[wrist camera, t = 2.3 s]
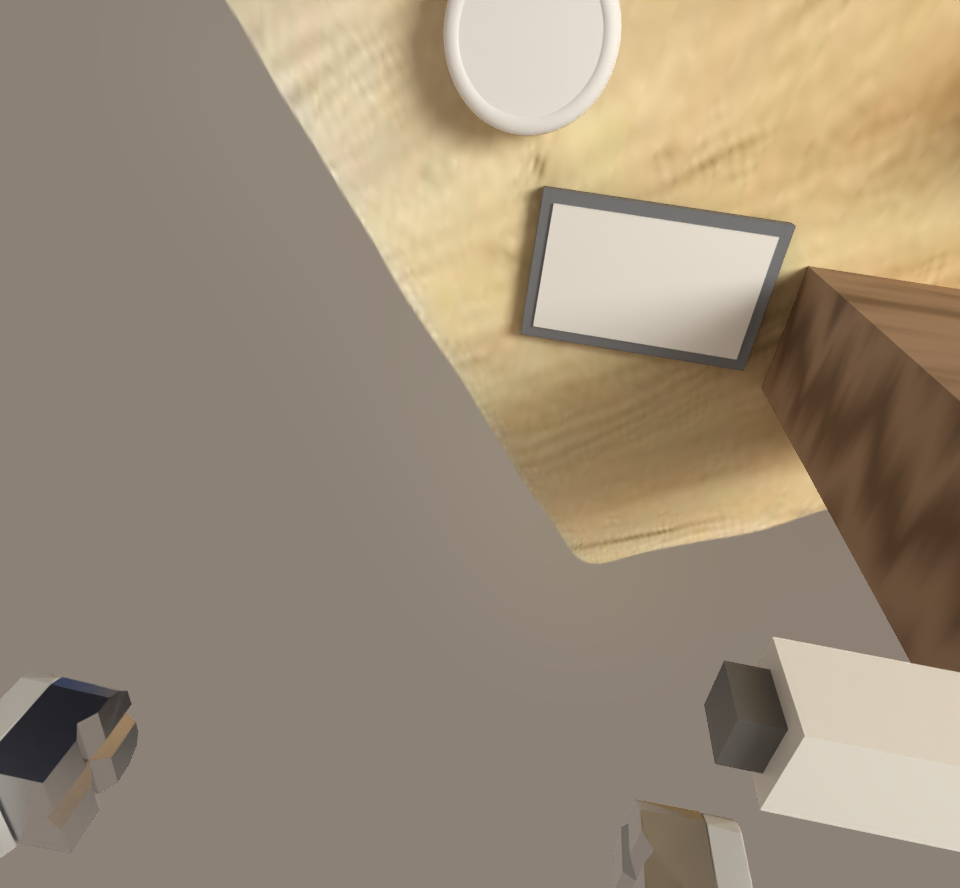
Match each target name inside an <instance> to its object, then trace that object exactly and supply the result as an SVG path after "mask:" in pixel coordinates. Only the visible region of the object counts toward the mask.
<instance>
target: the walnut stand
mask: <svg viewBox="0 0 960 888" xmlns="http://www.w3.org/2000/svg"><path fill="white" fill-rule="evenodd" d="M762 390H763V392H764V393H765V395H766V397H767V399H768V401H769V403H770V404H771V406H772V408H773V410H774V412H775V414H776V415H777V417H778V419H779V421H780V423H781V425H782V426H783V428H784V430H785V432H786V434H787V436H788V437H789V439H790V441H791V443H792V445H793V447H794V449H795V450H796V452H797V454H798V456H799V458H800V460H801V461H802V463H803V465H804V467H805V469H806V471H807V472H808V474H809V476H810V478H811V480H812V482H813V483H814V485H815V487H816V489H817V491H818V493H819V494H820V496H821V498H822V500H823V502H824V504H825V506H826V507H827V509H828V511H829V513H830V515H831V516H832V518H833V520H834V522H835V524H836V526H837V527H838V529H839V531H840V533H841V535H842V537H843V539H844V540H845V542H846V544H847V546H848V548H849V550H850V551H851V553H852V555H853V557H854V559H855V561H856V563H857V564H858V566H859V568H860V570H861V572H862V574H863V575H864V577H865V579H866V581H867V583H868V585H869V586H870V588H871V590H872V592H873V594H874V596H875V597H876V599H877V601H878V603H879V605H880V607H881V608H882V610H883V612H884V614H885V616H886V618H887V620H888V621H889V623H890V625H891V627H892V629H893V630H894V632H895V634H896V636H897V638H898V640H899V641H900V643H901V645H902V647H903V649H904V651H905V653H906V654H907V656H908V658H909V660H910V662H911V663H913V664H918V665H924V666H929V667H934V668H939V669H944V670H950V671H955V672H960V290H959V289H953V288H946V287H940V286H933V285H927V284H920V283H914V282H907V281H901V280H894V279H888V278H881V277H875V276H868V275H862V274H855V273H849V272H842V271H836V270H829V269H822V268H816V267H809V266H808V269H807V271H806V274H805V277H804V279H803V282H802V285H801V287H800V290H799V292H798V295H797V298H796V300H795V303H794V306H793V308H792V311H791V313H790V316H789V319H788V321H787V324H786V327H785V329H784V332H783V334H782V337H781V340H780V342H779V345H778V348H777V350H776V353H775V355H774V358H773V361H772V363H771V366H770V369H769V371H768V374H767V376H766V379H765V382H764V384H763V387H762Z"/></svg>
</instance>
